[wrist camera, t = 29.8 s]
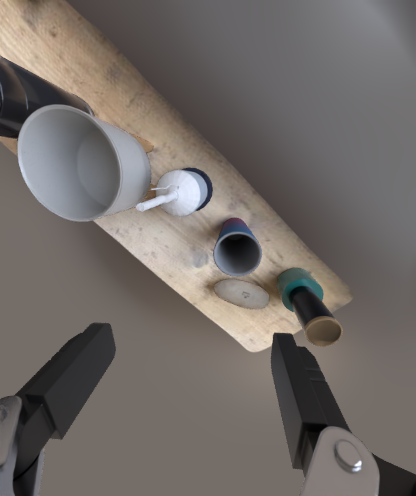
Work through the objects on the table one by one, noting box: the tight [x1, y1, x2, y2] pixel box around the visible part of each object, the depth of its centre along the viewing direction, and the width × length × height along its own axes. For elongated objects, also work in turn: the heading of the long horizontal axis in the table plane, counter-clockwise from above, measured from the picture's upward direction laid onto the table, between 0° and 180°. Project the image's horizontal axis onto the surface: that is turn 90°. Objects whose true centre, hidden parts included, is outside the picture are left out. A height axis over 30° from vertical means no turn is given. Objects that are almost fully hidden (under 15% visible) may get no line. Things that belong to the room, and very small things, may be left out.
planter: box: [17, 105, 157, 222], centre depth 32 cm, size 13×13×18 cm
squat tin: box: [276, 268, 323, 312], centre depth 43 cm, size 8×8×5 cm
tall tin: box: [289, 286, 343, 346], centre depth 36 cm, size 5×5×10 cm
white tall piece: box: [136, 168, 213, 217], centre depth 29 cm, size 8×8×25 cm
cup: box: [213, 218, 262, 277], centre depth 35 cm, size 7×7×15 cm
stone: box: [214, 279, 269, 310], centre depth 44 cm, size 6×6×12 cm
